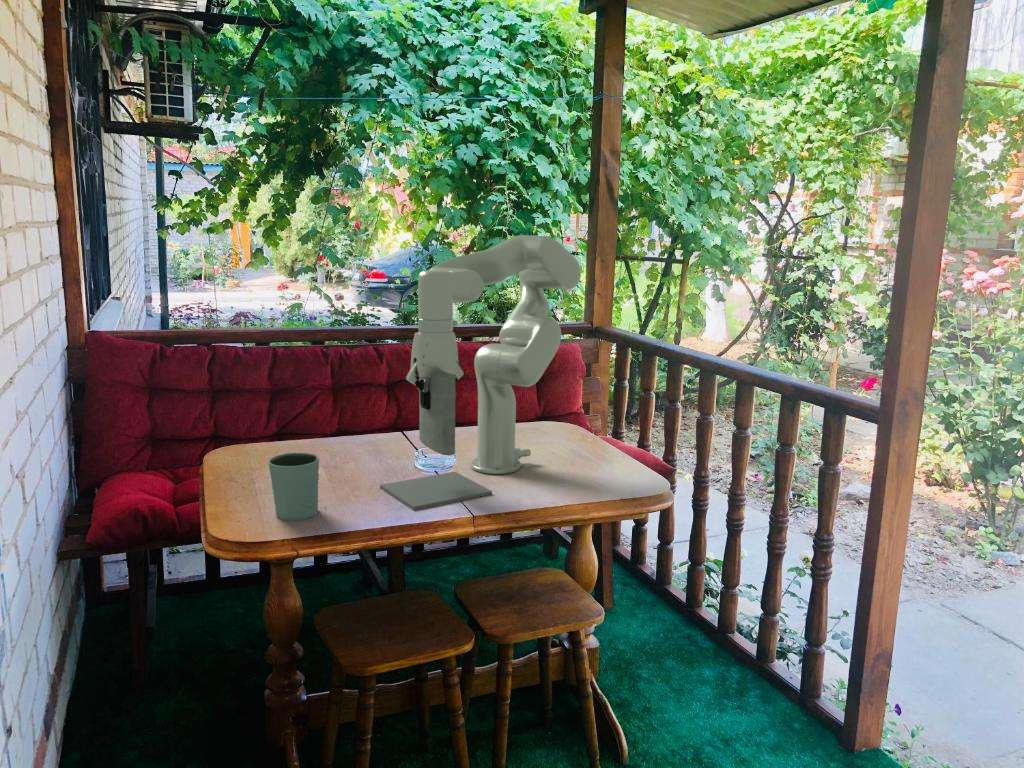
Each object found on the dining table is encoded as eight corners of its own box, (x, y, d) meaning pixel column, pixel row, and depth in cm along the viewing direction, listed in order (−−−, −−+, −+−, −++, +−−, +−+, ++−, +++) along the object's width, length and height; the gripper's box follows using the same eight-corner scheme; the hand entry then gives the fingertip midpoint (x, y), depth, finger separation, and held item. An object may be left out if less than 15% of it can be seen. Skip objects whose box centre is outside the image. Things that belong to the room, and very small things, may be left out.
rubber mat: (455, 474, 194) (455, 471, 194) (491, 494, 180) (491, 491, 180) (380, 488, 183) (380, 484, 183) (413, 510, 169) (413, 506, 169)
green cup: (328, 516, 165) (326, 461, 163) (280, 525, 159) (278, 469, 157) (309, 502, 173) (308, 449, 171) (264, 511, 167) (261, 456, 165)
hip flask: (457, 454, 173) (457, 364, 169) (440, 456, 171) (440, 365, 168) (430, 437, 187) (430, 353, 183) (413, 438, 185) (413, 354, 181)
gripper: (459, 323, 182) (459, 400, 185) (393, 326, 173) (394, 408, 176) (476, 326, 176) (475, 406, 179) (408, 330, 166) (409, 415, 170)
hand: (435, 406), depth 178 cm, fingers closed on hip flask, 4 cm apart
